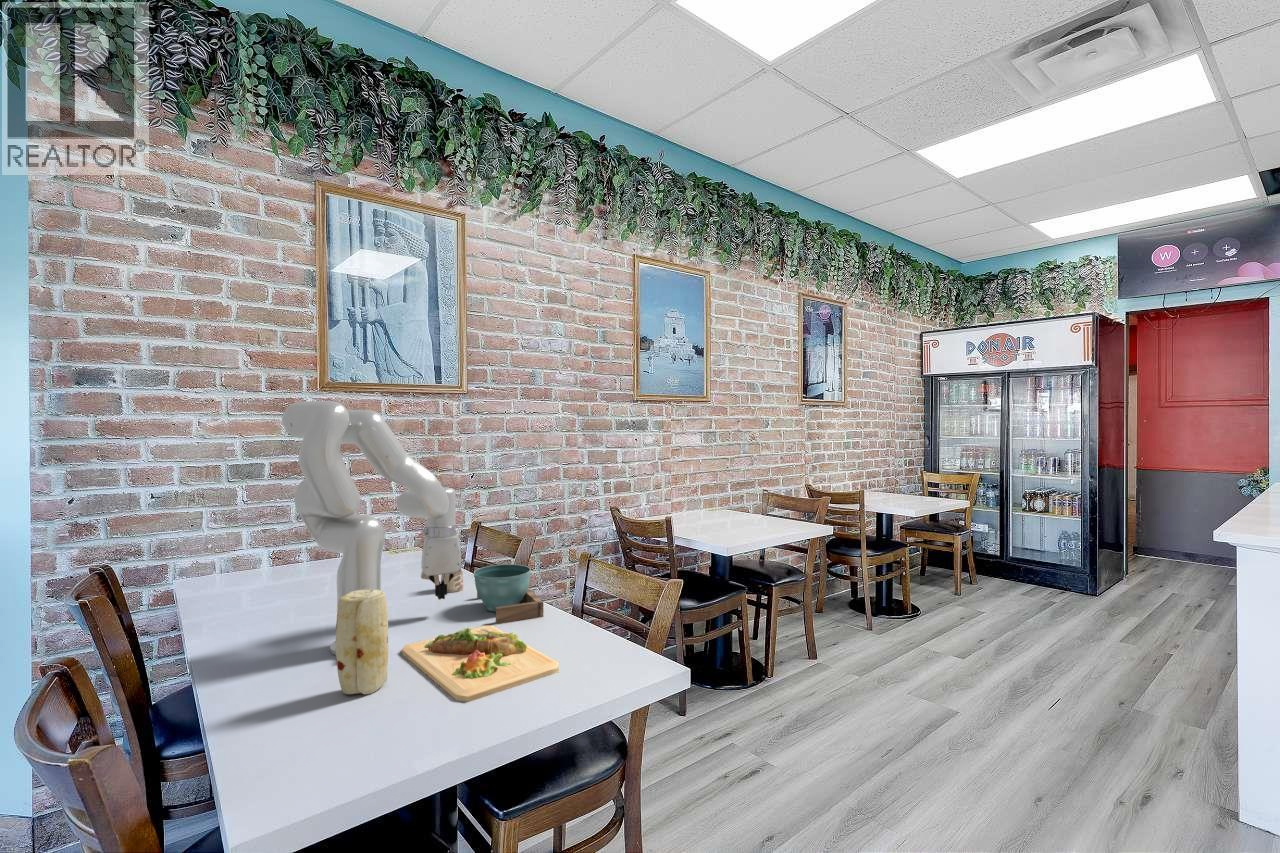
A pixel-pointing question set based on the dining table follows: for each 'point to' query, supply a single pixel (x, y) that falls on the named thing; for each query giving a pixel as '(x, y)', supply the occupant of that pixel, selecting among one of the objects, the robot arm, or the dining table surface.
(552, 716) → the dining table surface
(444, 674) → the cutting board
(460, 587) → the figurine
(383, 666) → the food model
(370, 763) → the dining table surface
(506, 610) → the walnut bay
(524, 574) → the flower pot
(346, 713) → the dining table surface
